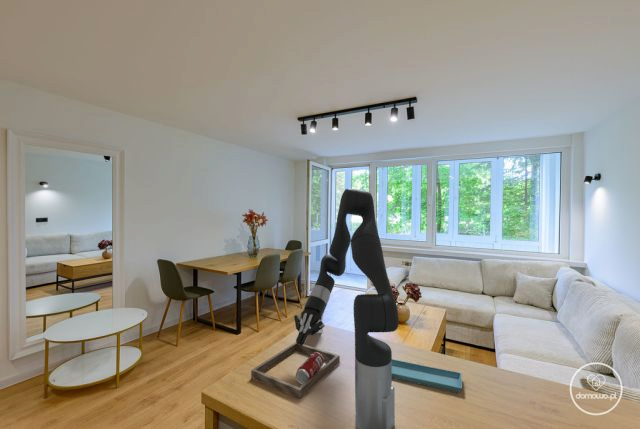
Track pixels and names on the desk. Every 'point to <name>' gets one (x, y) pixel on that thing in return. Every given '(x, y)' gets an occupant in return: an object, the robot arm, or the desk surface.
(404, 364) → the shallow long dish
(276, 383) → the walnut frame
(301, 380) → the soda can
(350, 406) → the desk surface
